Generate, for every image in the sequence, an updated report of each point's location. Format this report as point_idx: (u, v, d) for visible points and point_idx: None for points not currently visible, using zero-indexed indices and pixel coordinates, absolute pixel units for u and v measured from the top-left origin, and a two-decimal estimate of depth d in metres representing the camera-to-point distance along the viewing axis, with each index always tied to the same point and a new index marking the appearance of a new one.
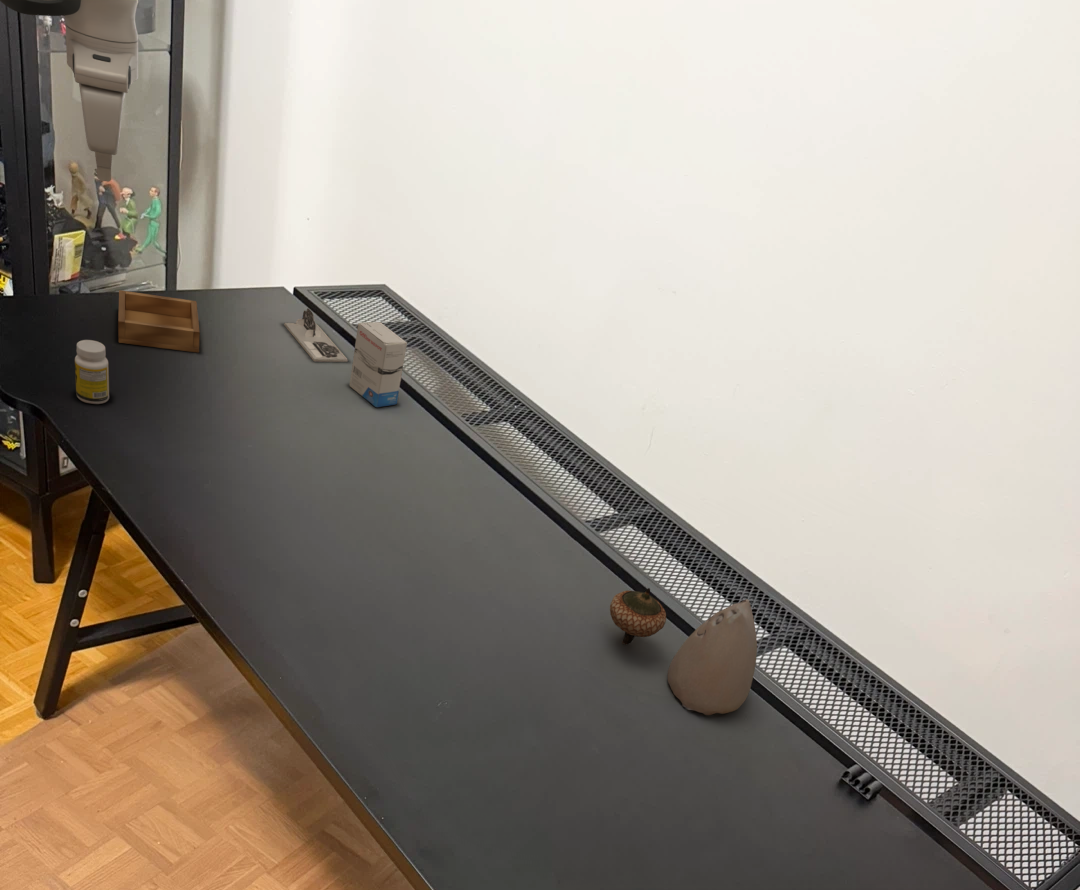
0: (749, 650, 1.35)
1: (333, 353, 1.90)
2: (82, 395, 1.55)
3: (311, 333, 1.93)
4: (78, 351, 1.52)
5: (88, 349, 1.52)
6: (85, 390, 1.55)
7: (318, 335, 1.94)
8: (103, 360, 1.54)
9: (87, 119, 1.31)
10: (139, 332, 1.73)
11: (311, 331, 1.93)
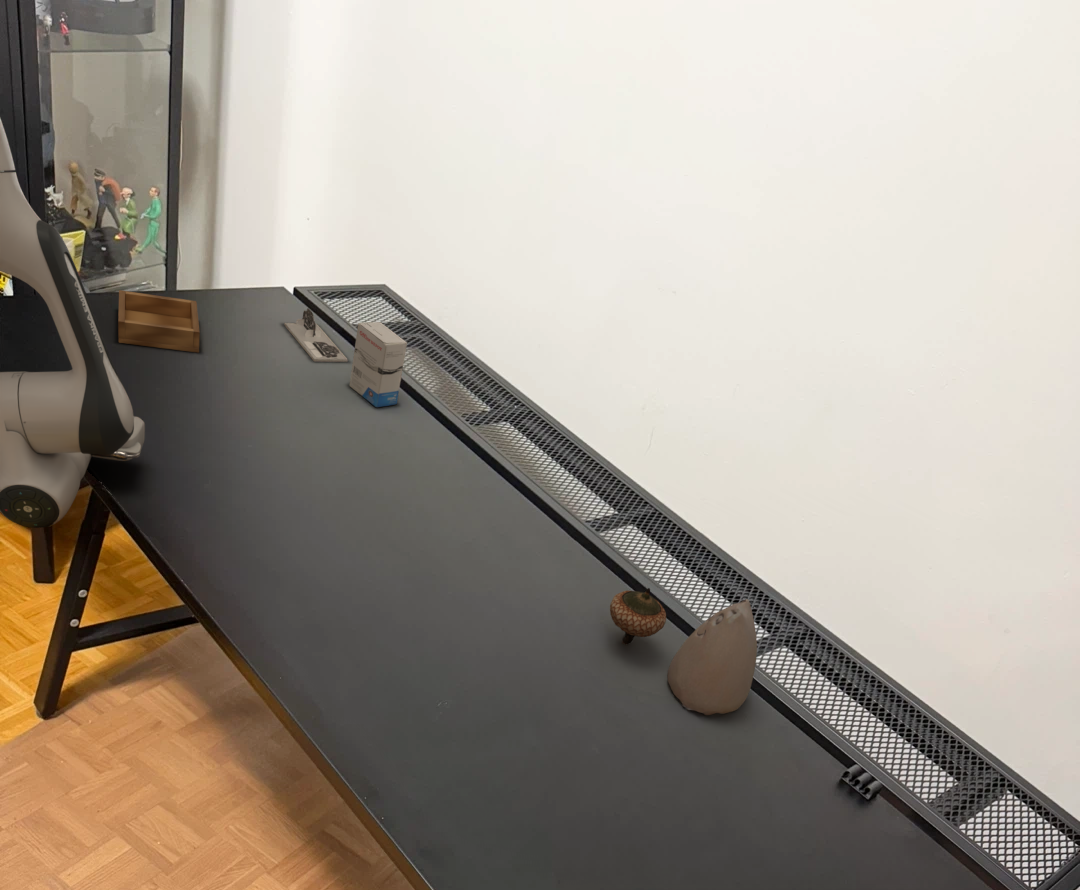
0: (749, 650, 1.35)
1: (333, 353, 1.90)
2: None
3: (311, 333, 1.93)
4: None
5: None
6: None
7: (318, 335, 1.94)
8: None
9: None
10: (139, 332, 1.73)
11: (312, 331, 1.93)
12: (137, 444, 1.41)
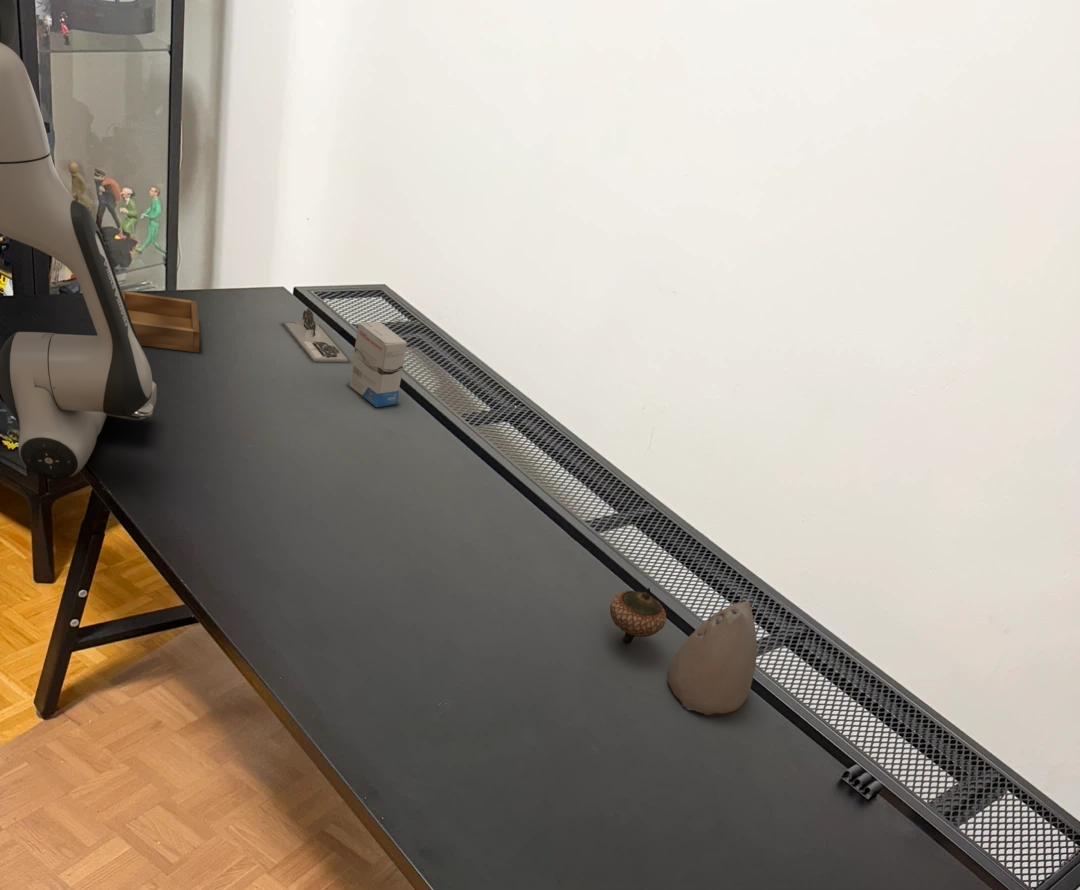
0: (749, 650, 1.35)
1: (333, 353, 1.90)
2: None
3: (311, 333, 1.93)
4: None
5: None
6: None
7: (318, 335, 1.94)
8: None
9: None
10: (139, 332, 1.73)
11: (312, 331, 1.93)
12: (149, 404, 1.50)
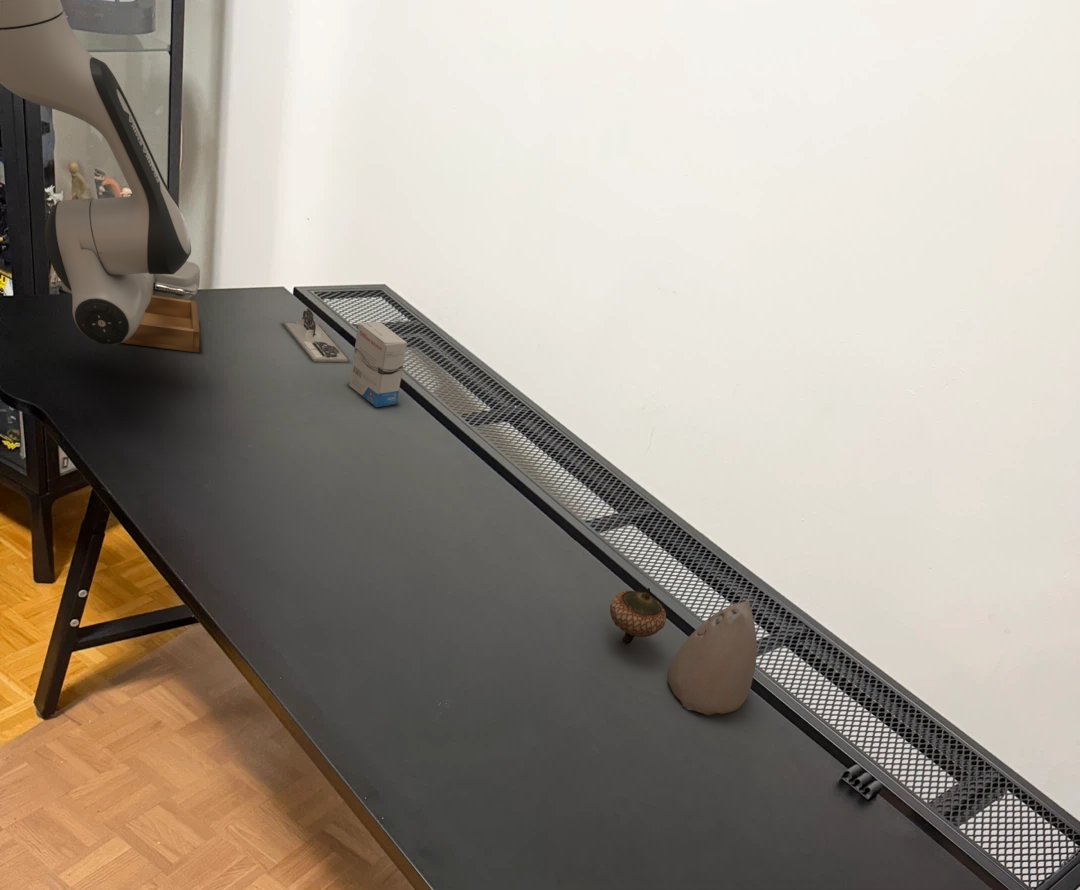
0: (749, 650, 1.35)
1: (333, 353, 1.90)
2: None
3: (311, 333, 1.93)
4: None
5: None
6: None
7: (318, 335, 1.94)
8: None
9: None
10: (139, 332, 1.73)
11: (312, 331, 1.93)
12: (193, 284, 1.57)
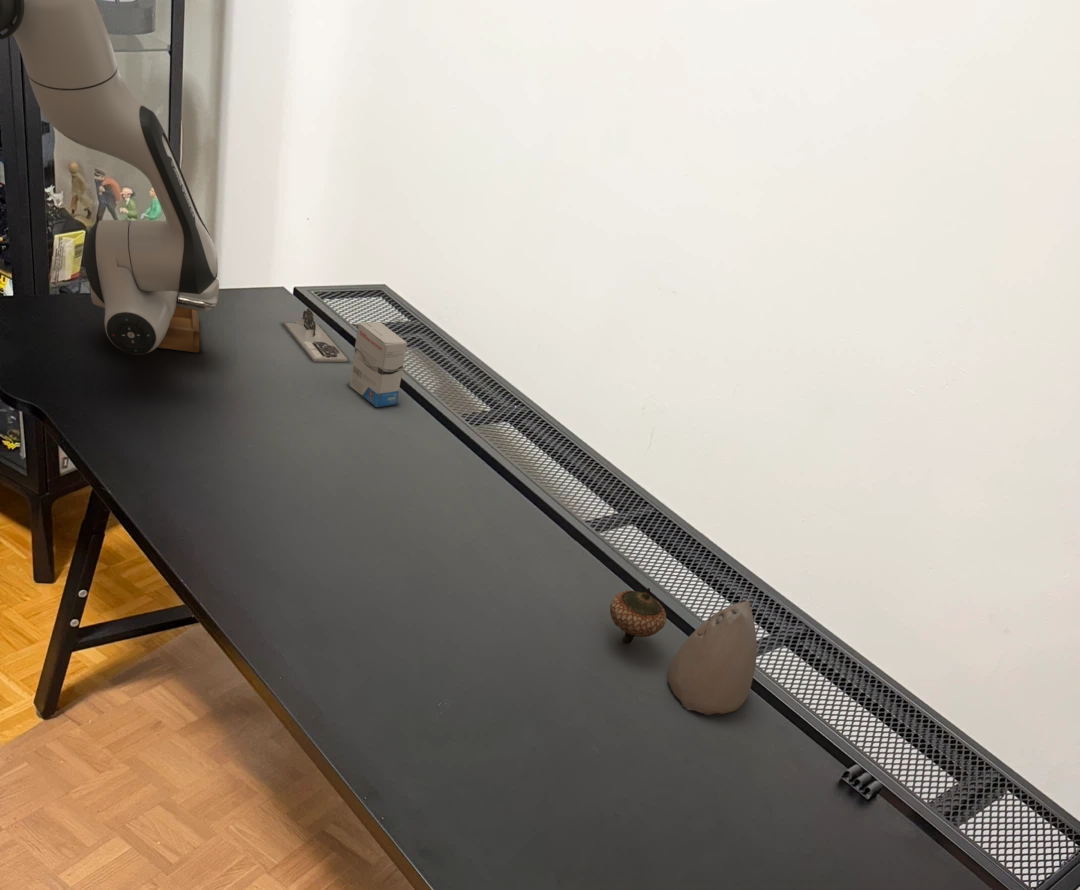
0: (749, 650, 1.35)
1: (333, 353, 1.90)
2: None
3: (311, 333, 1.93)
4: None
5: None
6: None
7: (318, 335, 1.94)
8: None
9: None
10: None
11: (312, 331, 1.93)
12: (213, 297, 1.68)
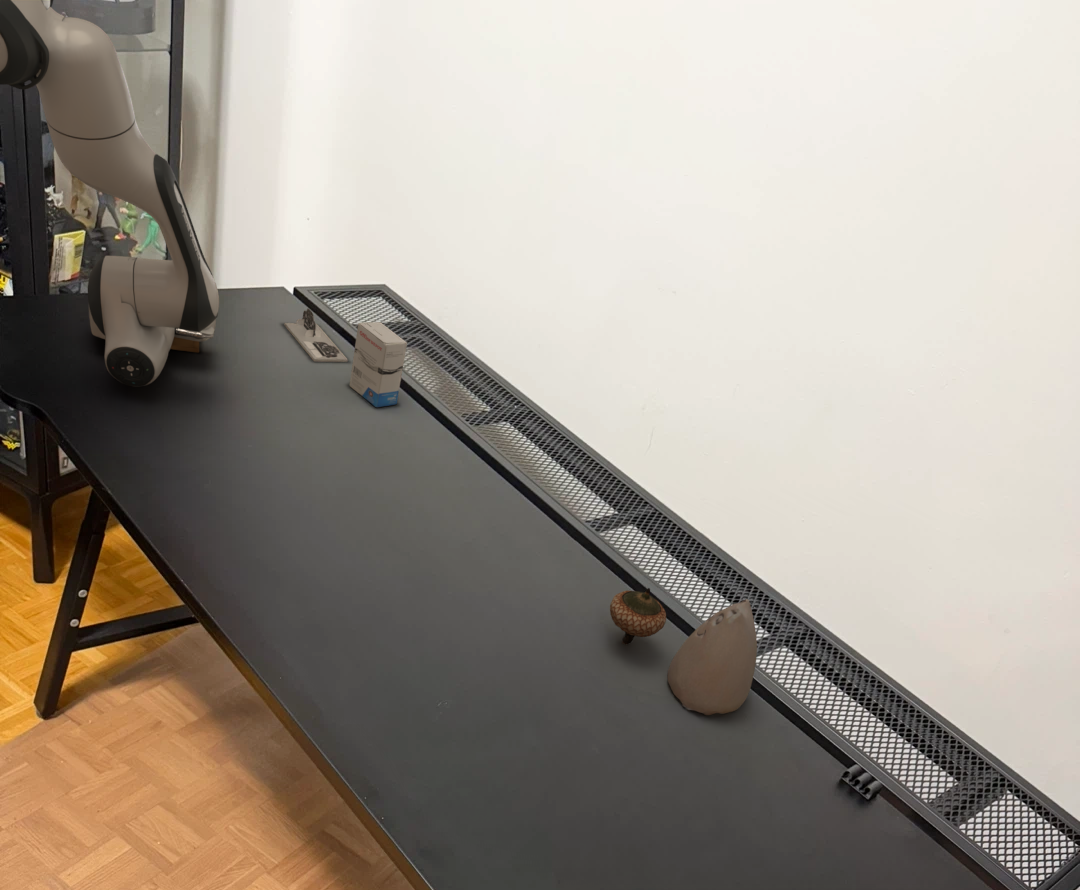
0: (749, 650, 1.35)
1: (333, 353, 1.90)
2: None
3: (311, 333, 1.93)
4: None
5: None
6: None
7: (318, 335, 1.94)
8: None
9: None
10: None
11: (312, 331, 1.93)
12: (210, 327, 1.71)
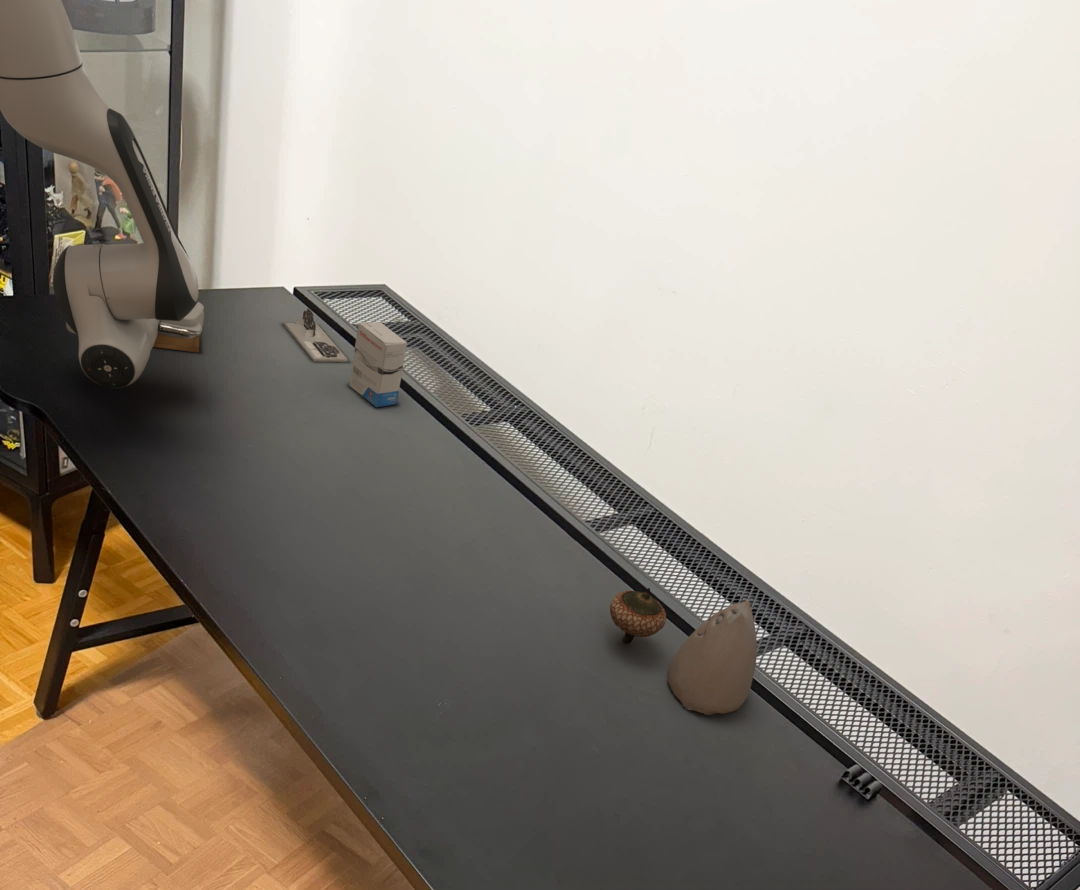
0: (749, 650, 1.35)
1: (333, 353, 1.90)
2: None
3: (311, 333, 1.93)
4: None
5: None
6: None
7: (318, 335, 1.94)
8: None
9: None
10: None
11: (312, 331, 1.93)
12: (198, 324, 1.57)
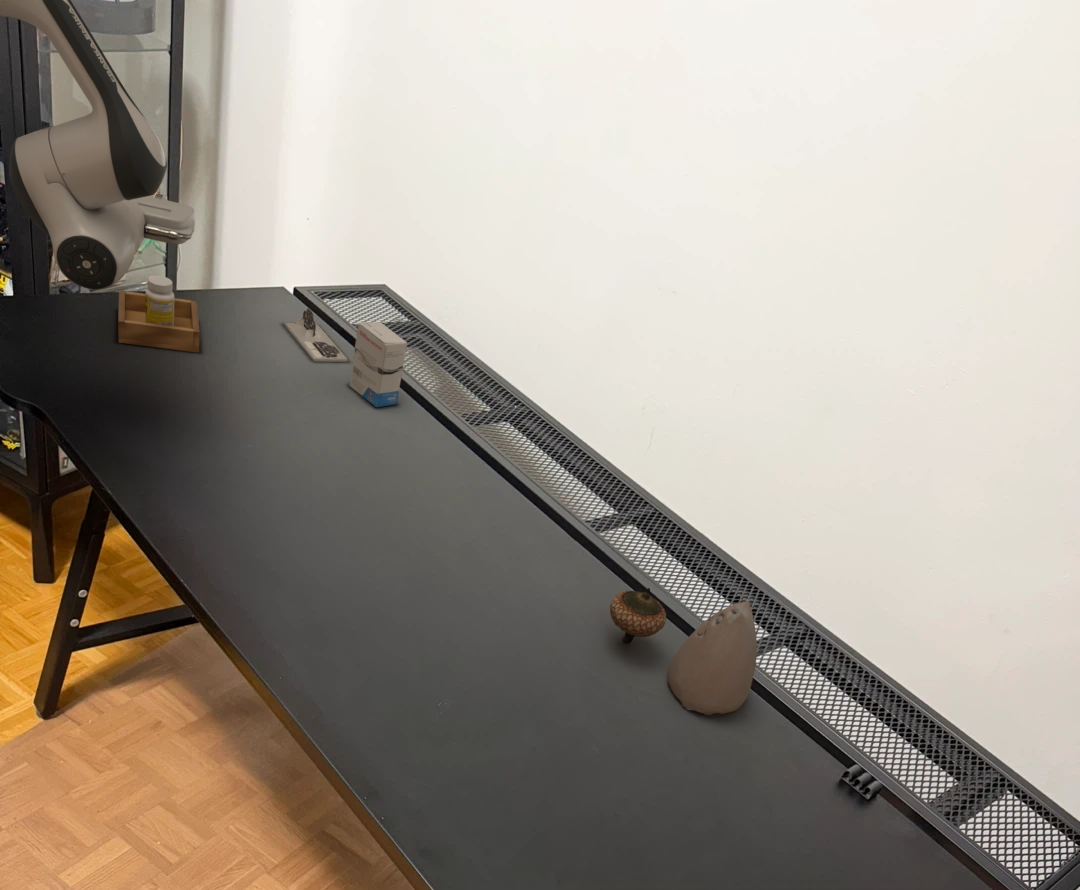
0: (749, 650, 1.35)
1: (333, 353, 1.90)
2: None
3: (311, 333, 1.93)
4: (149, 284, 1.73)
5: (158, 282, 1.73)
6: (154, 320, 1.76)
7: (318, 335, 1.94)
8: (170, 293, 1.75)
9: None
10: (139, 332, 1.73)
11: (312, 331, 1.93)
12: (188, 228, 1.44)
